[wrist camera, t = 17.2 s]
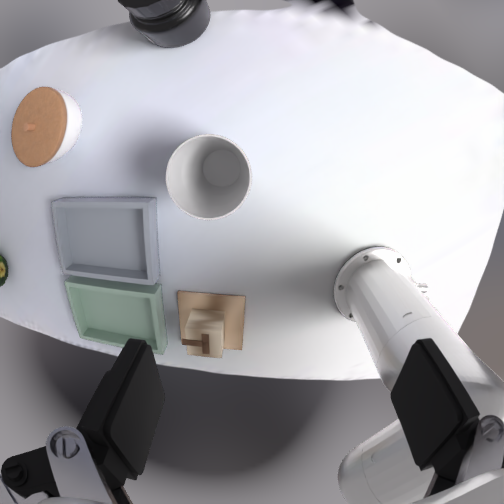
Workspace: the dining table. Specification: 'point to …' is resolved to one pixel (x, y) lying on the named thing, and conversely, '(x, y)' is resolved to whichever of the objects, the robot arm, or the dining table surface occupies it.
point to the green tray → (117, 311)
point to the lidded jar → (45, 126)
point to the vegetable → (3, 270)
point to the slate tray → (108, 238)
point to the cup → (208, 177)
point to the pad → (218, 302)
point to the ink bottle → (169, 20)
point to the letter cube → (205, 333)
